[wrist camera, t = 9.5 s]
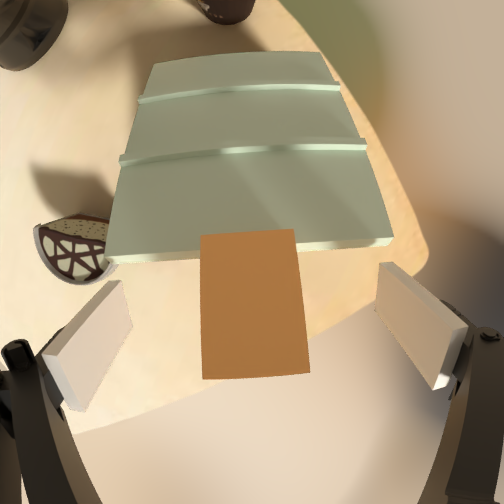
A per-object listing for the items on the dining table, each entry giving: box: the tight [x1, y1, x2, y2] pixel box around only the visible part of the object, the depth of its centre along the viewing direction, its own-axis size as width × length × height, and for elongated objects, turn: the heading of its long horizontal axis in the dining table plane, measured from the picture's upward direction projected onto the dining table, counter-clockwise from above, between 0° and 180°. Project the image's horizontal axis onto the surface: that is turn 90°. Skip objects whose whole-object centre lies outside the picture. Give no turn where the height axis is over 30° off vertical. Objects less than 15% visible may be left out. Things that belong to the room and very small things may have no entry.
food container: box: [33, 212, 119, 285], centre depth 33 cm, size 12×6×10 cm, turn 77°
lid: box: [104, 51, 394, 379], centre depth 17 cm, size 25×15×3 cm
